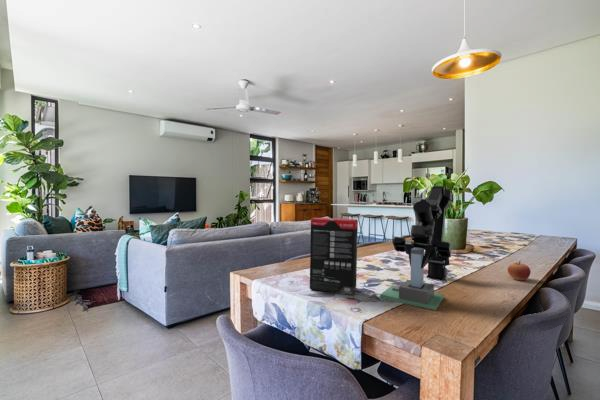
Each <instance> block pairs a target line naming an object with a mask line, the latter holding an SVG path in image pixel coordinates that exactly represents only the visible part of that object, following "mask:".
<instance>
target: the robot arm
mask: <svg viewBox="0 0 600 400" xmlns="http://www.w3.org/2000/svg"><path fill="white" fill-rule="evenodd" d="M451 201H453V193H452V190H450V189H448V188H445V186H443V185H433V186H431V188H430V191H429V195H428V197H427V199H425V198H422V199H421V198H420V201H417V202H415V203H414V204H413V206H412V209H413V213H414V217H415V220H416V221H417V224H412V225H411V226H410V235H411V240H407V239H406V238H405V237H400V236H395V237H393V239H392V241H391V242H392V245H393V248H394V250H395V251H396V252H399V253H401V252H402V253H405V254H406V255H408V260H409V267H410V268H411V249H412V248H414V247H415V248H424V257H423V260H422V264H421V268H422V269H423V268H424V269H425V267H426V265H427V275H426V278H427V279H428V278H429V279H434V280H437V281H443V280H445V279H446V278H448V277H447V275H448V273H447V272H448V270H447V266H450V258H451V257H452V246H451V243H450V242H449V241H444V234H445V233H444V232H445V222H446V220H445V219H446V211H447V210H448V208H449V207H450V206H451Z"/></svg>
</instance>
